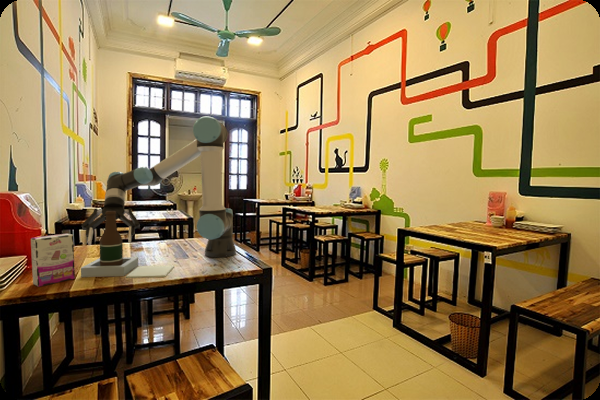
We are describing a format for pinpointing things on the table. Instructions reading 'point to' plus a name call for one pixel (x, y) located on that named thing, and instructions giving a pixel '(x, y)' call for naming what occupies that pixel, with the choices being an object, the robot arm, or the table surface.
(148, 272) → the mat
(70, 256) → the candy bar box
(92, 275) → the grey square tray
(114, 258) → the beer bottle
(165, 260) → the table surface
